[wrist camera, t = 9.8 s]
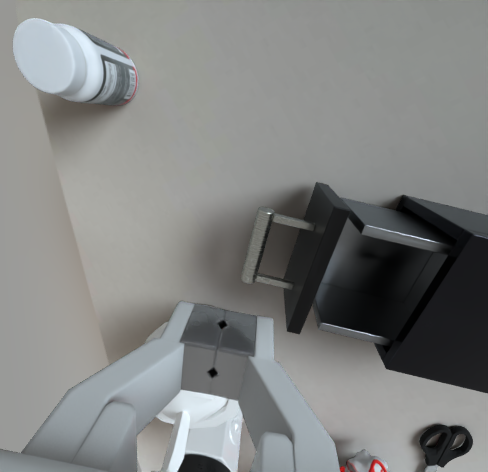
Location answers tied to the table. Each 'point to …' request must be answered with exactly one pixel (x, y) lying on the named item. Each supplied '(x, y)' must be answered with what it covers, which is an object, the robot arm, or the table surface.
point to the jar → (213, 447)
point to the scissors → (444, 446)
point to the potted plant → (190, 416)
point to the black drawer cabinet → (448, 306)
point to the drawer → (352, 265)
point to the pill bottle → (73, 64)
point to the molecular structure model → (365, 463)
